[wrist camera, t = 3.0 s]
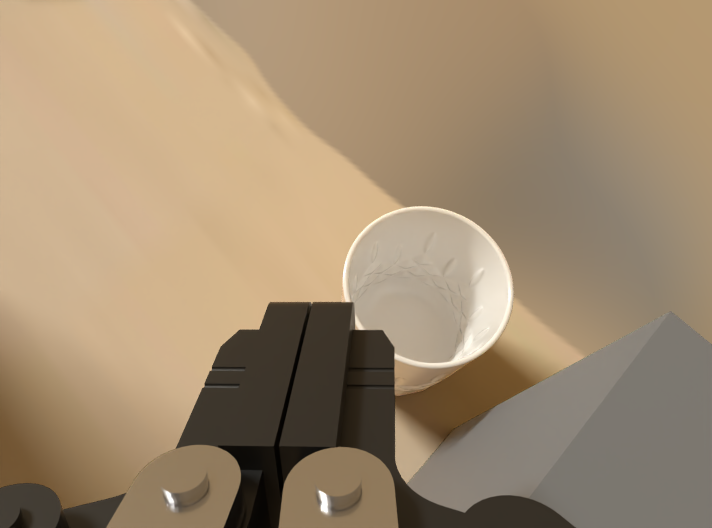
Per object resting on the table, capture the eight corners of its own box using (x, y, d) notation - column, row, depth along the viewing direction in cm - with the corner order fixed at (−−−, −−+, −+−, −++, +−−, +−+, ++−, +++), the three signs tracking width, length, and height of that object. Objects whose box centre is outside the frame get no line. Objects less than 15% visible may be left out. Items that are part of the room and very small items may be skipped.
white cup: (430, 429, 35) (477, 400, 25) (309, 368, 35) (312, 317, 26) (479, 314, 38) (537, 250, 28) (366, 259, 38) (387, 180, 29)
